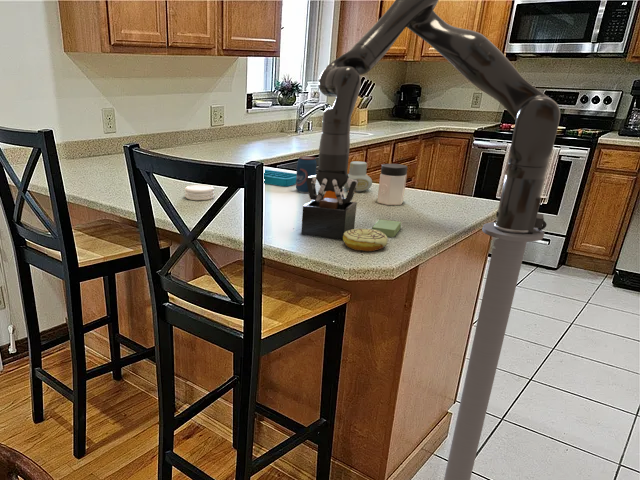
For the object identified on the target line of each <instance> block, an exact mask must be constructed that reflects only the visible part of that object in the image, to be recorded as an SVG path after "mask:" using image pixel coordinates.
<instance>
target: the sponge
mask: <svg viewBox="0 0 640 480" xmlns="http://www.w3.org/2000/svg"><path fill="white" fill-rule="evenodd" d="M401 227H402V221H397V220H390V219H381V218H380V219H378V220H377V222H376V223H374V225H372V227H371V229H373V230H378V231H381V232H382V233H384V234H385V235H386V236H387V238H388V237H389V238H395V237H396V235H397V234H398V233H399V231H400V230H401Z"/></svg>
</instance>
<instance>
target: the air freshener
mask: <svg viewBox="0 0 640 480" xmlns="http://www.w3.org/2000/svg"><path fill="white" fill-rule="evenodd" d="M367 167H368V163H367V162H366V161H357V160H356V161H355V160H354V161H351V162H350V163H349V171H348V173H347V174H348V177H349V178H350V179H352V180H358V185H357V188H356V190H355V193H362V192H365V191H367V190H369V189H370V188H371V187H372V185H373V180H372V178H371V177H370V176H369V175H368V174H367V169H368V168H367ZM343 189H345V190H347V191H349V187H348V183H346V184H345V185H344V186H343Z"/></svg>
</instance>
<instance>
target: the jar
mask: <svg viewBox="0 0 640 480" xmlns="http://www.w3.org/2000/svg"><path fill="white" fill-rule="evenodd" d="M407 177H408V166H407V164H401V163H383V164H381V168H380V174H379V183H378V191H377V203H379V204H382V205H386V206H401V205H402V204H403V203H404V200H405V194H406V193H405V191H406V184H407Z"/></svg>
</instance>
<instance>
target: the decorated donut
mask: <svg viewBox="0 0 640 480" xmlns="http://www.w3.org/2000/svg"><path fill="white" fill-rule="evenodd" d="M388 240H389V238H388V236H386V235H385V234H384V233H382V232H381V231H378V230H373V229H372V228H354V229H351V230H348V231H346V232H345V233H344V235H343V240H342V241H343V242H344V244H345V246H346V247H347V248H348V249H351V250H354V251H363V252H375V251H378V250H380V249H383V248H384V247H386V246H387V244H388Z"/></svg>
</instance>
